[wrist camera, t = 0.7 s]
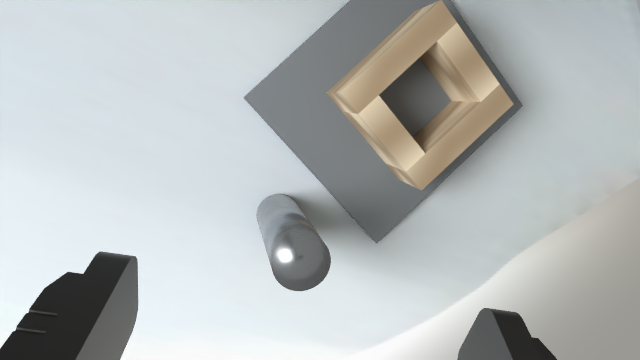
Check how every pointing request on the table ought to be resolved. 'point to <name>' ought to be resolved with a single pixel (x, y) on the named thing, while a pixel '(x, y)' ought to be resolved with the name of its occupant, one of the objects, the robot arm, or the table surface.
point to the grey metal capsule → (292, 244)
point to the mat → (335, 128)
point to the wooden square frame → (452, 75)
